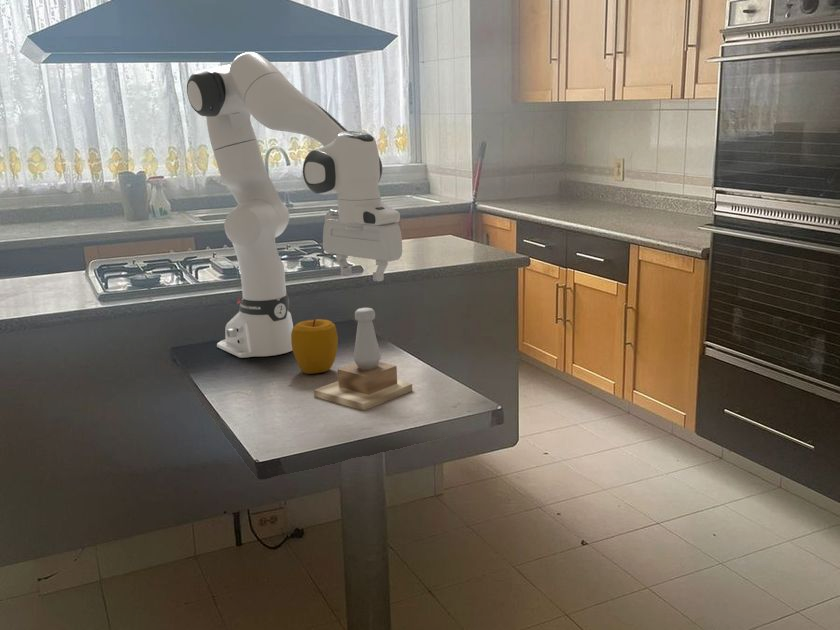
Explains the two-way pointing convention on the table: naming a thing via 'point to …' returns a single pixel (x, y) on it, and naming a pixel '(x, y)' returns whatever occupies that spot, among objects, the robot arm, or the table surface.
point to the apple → (314, 345)
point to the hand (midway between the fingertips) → (362, 278)
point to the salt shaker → (366, 340)
